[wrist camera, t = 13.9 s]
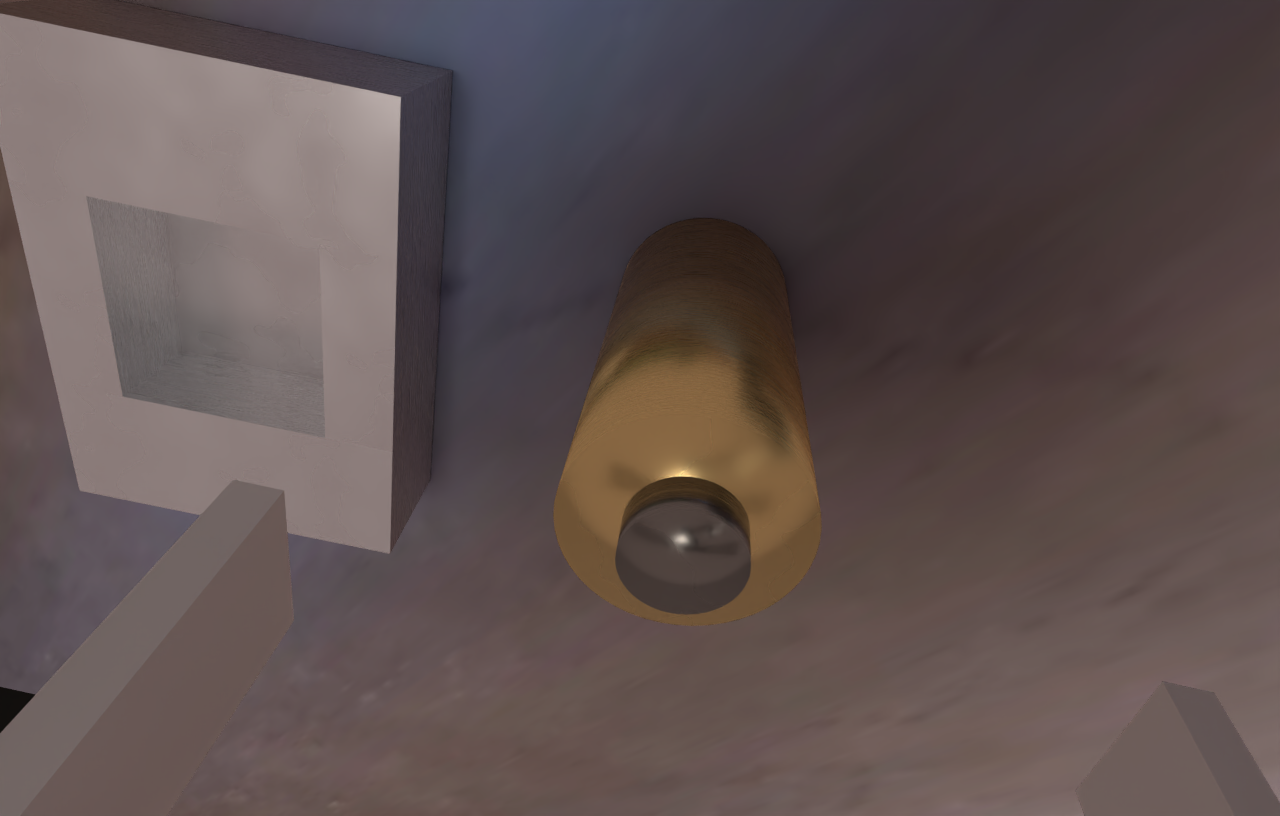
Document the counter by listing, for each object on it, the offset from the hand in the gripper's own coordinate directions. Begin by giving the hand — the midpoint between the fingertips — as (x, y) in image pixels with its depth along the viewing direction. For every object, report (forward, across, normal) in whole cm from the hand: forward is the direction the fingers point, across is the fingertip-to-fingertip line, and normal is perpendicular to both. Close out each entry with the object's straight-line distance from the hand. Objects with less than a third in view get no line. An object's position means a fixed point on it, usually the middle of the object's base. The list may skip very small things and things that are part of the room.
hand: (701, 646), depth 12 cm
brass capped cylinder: (+14, -1, 0) cm, 14 cm away
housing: (+14, -14, -2) cm, 20 cm away
